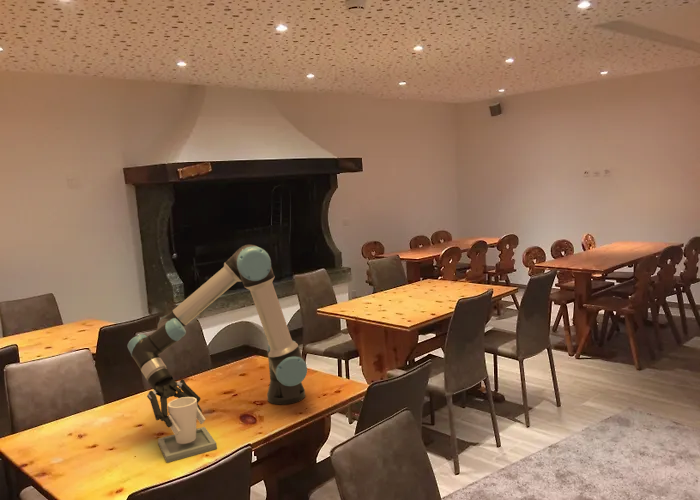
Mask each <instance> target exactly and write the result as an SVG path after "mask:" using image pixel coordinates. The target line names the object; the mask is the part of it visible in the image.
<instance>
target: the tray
mask: <svg viewBox="0 0 700 500" xmlns="http://www.w3.org/2000/svg"><path fill="white" fill-rule="evenodd" d="M157 444H158V446H159V448H160V449H159V450H160V451H161V453H162V455H163V458H164V460H165V461H166V463H167V464H168V463H171V462H175V461H177V460H182V459H185V458H189V457H193V456H196V455H200V454H203V453H207V452H210V451H215V450H217V449H218V447H217V442H216V441H215V439H214V438H213V436H212V435H211V433H210V432H209V431H208V429H207V428H206V427H205V426H202V427H198V428H196V439H195V440H194V441H192V442H190V443H186V444H180V443H177V441H176V437H175V434H174V433H173V434H170V435H167V436H163V437H159V438H157Z"/></svg>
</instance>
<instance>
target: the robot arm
mask: <svg viewBox="0 0 700 500" xmlns="http://www.w3.org/2000/svg"><path fill="white" fill-rule="evenodd" d="M274 280H275V273H274V271H273V268H272V260H271V257H270V255H269V253H268V251H266V250H265V249H264V248H262V247H259V246H257V245H255V244H245V245H242V246H241V247H239V248H238V249H237V250H236V251H235V252H234V253H233V254H232V256H230V257H229V258H228V259H227V260H226V261H225V262H224V263H223V267H222V268H221V269H220V270H218V271H217V272H216V273H215V274H213V276H210V278H209V279H207V281H206V282H204V283H203V284H202V285H200V287H198V288H197V289H196V290H195V291H194V292H192V293H191V294H190V295H188V297H187V298H186V299H184V300H183V301H182V302H181V303H179V305H177V306H176V307H174V309H172V311H170V312H169V313H167V314H166V315H164V316H162V317H161V318H160V319H159V321H158V323H157V329H156V330H154V331H153V332H152V333H150V334H148V336H147V334H143V333H142V334H137V336H133V337H132V338H131V339H130V340H129V341H128V343H127V345H126V346H127V349H128V352H129V353H130V356H131V358H132V359H133V360H134V361H135V363H136V365H137V366H138V367H139V369H140V371H141V373H142V374H143V376H144V378H145V379H146V380H147V383H148V384H149V387H150V388H151V389H152V390H150V391H149V392H148V394H147V395H146V397H147V399H148V400H149V401H150V404H151V408H152V411H153V414H154V418H155V420H156V421H159V420H160V421H161V422H164V424H165V425H166V427H167V428H170V429H171V431H172V433H173V435H174V434H175V436H177V435H178V434H179V432H180V429H179V427H178V426H177V424H176V423H175V421H174V419H173V418H172V416H171V415H170V414H169V413H168V399H169V398H173V397H174V398H177V399H178V398H182V397H194V398H196V399H197V421H198V422H199V424H200V425H202V424H204V423H205V421H206V417H205V416H204V415H203V413H202V412H203V410H202V408H201V407H200V405H199V402H200V401H201V397H200V396H199V395H198V394H197V393H196V392H195V391H194V390H193V389H192V388H191V387H190V386H189V385H188V384H187V383H186V381H185V380H184V379H182V378H181V379H180V380H179V381H176V380H175V379H174V378H173V374H172V373H171V372H170V371H169V369H168V368H167V365H166V364H165V363H164V361H163V359H162V358H161V356H160V354H162V353H163V352H165V351H166V350H167V349H169V348H170V347H172V346H173V345H174V344H175V343H177V342H178V341H181V339H182V338H184V337H185V336H186V334H187V330H186V329H185V327H186V326H187V325H188V324H190V322H192V321H193V319H195V318H196V317H198V315H200V314H201V313H202V312H203V311H204V310H205V309H207V308H208V307H209V306H210V305H211V304H213V303H214V302H215V301H216V300H218V298H220V297H221V296H222V295H223V294H224V293H225V292H228V290H229V289H230V288H231V287H232V286H234V285H235V284H236V283H238V282H240V283H241V282H242V284H243V287H244V288H245V289H247V290H248V291H250V294H251V297H252V299H253V303H254V305H255V309H256V311H257V314H258V317H259V320H260V323H261V325H262V328H263V331H264V335H265V337H266V339H267V343H268V345H267V351H266V353H267V357H268V369H269V386H268V389H267V394H266V397H267V401H268V403H269V404H273V405H289V404H294V403H297V402H300V401H302V400H303V399H304V398H305V397H306V390H305V388H304V387H305V386H304V385H303V383H302V382H304V380H305V378H306V376H307V375H308V374H307V373H308V366H307V362H306V361H305V359H304V358H303V356H302V353H301V350H300V346H299V344H298V343H297V342H296V341H295V340H293V339H292V336H291V334H290V330H289V327H288V323H287V322H286V319H285V315H284V313H283V310H282V307H281V304H280V301H279V298H278V296H277V292H276V290H275V286H274V284H273V281H274ZM157 396H158V397H159V398H160V399H159V401H158V397H157ZM159 402H160V404H159ZM168 414H169V415H168Z"/></svg>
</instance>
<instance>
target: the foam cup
mask: <svg viewBox="0 0 700 500" xmlns="http://www.w3.org/2000/svg"><path fill="white" fill-rule="evenodd" d="M167 412H168V414H169V415H171V416H172V418H173V419H174V421H175V423H176V424H177V426H178V427H179V429H180V432H179V434H178V435H177V436H175V437H176V441H177V443H180V444H186V443H190V442H192V441H194V440H195V439H196V429H197V421H198V419H197V399H196V398H194V397H182V398H178V397H177V398H175V399H173V400H170V401H168V402H167Z"/></svg>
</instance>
